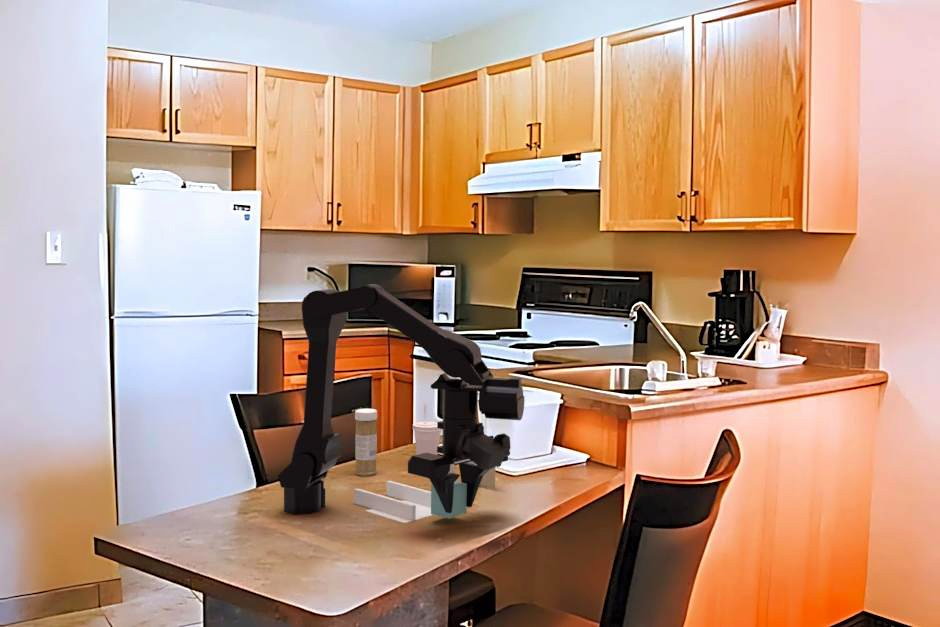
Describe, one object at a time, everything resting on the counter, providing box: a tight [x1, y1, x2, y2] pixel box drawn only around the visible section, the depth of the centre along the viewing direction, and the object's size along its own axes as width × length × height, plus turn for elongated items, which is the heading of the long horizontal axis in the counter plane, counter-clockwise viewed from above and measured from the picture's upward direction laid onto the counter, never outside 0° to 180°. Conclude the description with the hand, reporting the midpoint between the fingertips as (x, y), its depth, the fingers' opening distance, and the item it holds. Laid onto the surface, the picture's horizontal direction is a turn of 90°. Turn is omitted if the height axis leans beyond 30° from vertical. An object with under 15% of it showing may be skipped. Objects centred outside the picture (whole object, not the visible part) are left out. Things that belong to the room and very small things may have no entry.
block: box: [430, 480, 468, 519], centre depth 153 cm, size 4×5×4 cm
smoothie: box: [412, 403, 443, 455], centre depth 194 cm, size 6×6×14 cm
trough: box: [353, 480, 434, 524], centre depth 161 cm, size 12×15×4 cm
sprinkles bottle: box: [354, 408, 378, 477], centre depth 190 cm, size 5×5×14 cm
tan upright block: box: [478, 467, 496, 492], centre depth 179 cm, size 6×6×10 cm
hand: (458, 509), depth 152 cm, fingers closed on block, 4 cm apart
